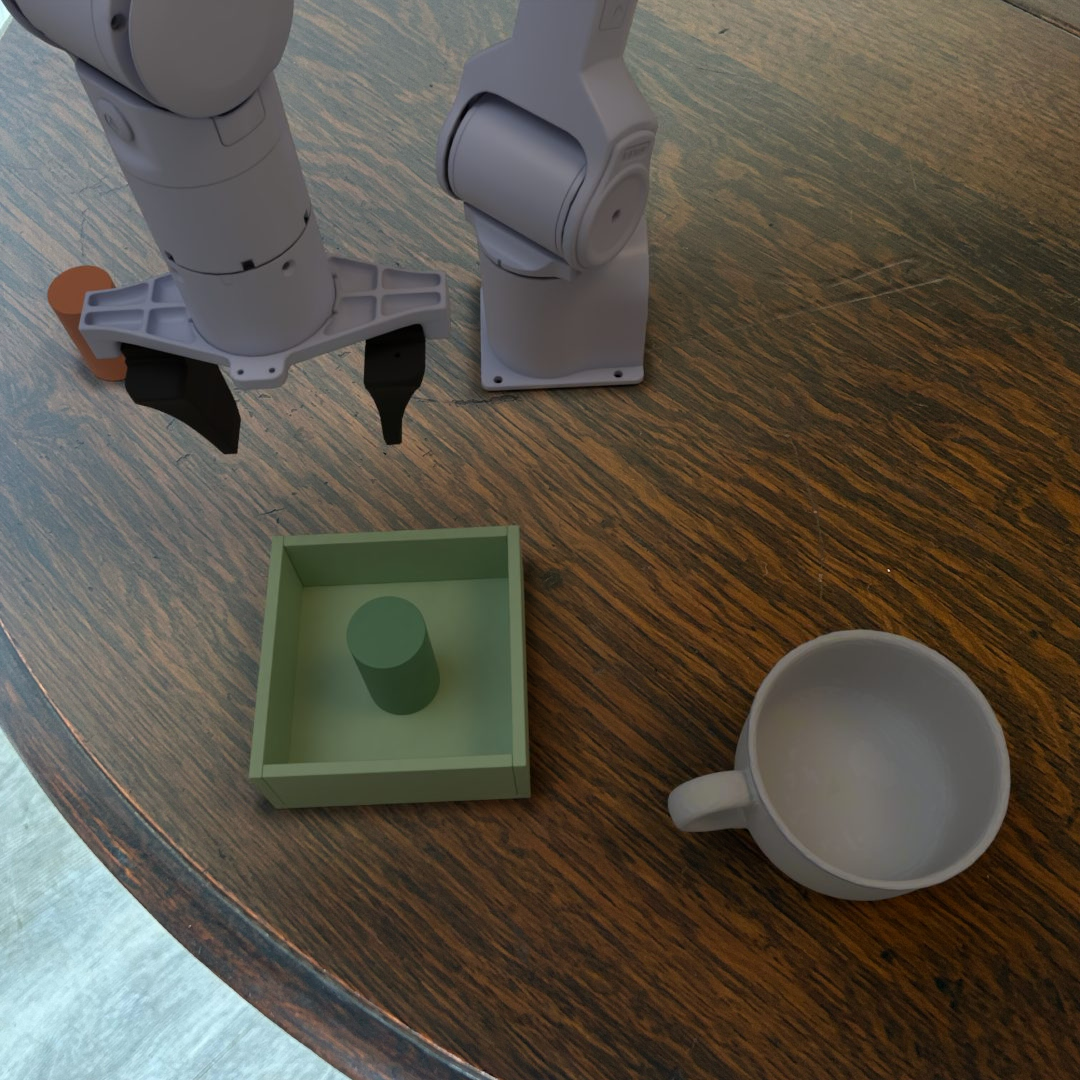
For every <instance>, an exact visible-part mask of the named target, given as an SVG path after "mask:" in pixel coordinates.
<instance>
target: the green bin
mask: <svg viewBox="0 0 1080 1080" xmlns="http://www.w3.org/2000/svg"><path fill="white" fill-rule="evenodd" d="M523 564H524V563H523V552H522V541H521V530H520V525H518V524H513V525H512V524H511V525H494V526H493V525H490V526H472V527H471V526H470V527H467V526H466V527H449V528H448V527H445V528H426V529H425V528H424V529H406V530H404V529H403V530H383V531H382V530H381V531H362V532H361V531H359V532H358V531H357V532H339V533H318V534H317V533H316V534H313V533H312V534H296V535H294V534H293V535H292V534H291V535H273V536H272V537H271V546H270V555H269V566H268V575H267V583H266V596H265V605H264V616H263V626H262V636H261V647H260V655H259V657H260V658H259V665H258V666H259V667H258V677H257V684H256V685H257V686H256V697H255V707H254V716H253V726H252V727H253V728H252V737H251V747H250V755H249V756H250V758H249V767H248V779H249V780H250V781H251V782H252V784H253V785H254V786H255V787H256V788H257V789H258V790H259V791H260V793H261V794H262V795H263V796H264V797H265V799H267V801H268V802H269V803H270V804H271V805H272V806H273V807H274V809H276V810H280V809H281V810H282V809H301V808H302V809H306V808H327V807H328V808H329V807H349V806H350V807H351V806H352V807H353V806H371V805H373V806H374V805H396V804H399V805H400V804H419V803H420V804H421V803H442V802H443V803H444V802H464V801H486V800H487V801H488V800H511V799H530V798H531V797H532V796H531V794H532V793H531V765H530V763H531V761H530V735H529V730H530V729H529V704H528V703H529V702H528V701H529V699H528V673H527V670H528V669H527V640H526V638H527V637H526V609H525V580H524V579H525V578H524V565H523ZM385 596H393V597H399V598H402V599H405V600H407V601H409V602H411V603H412V604H414V605H415V606H416V607H417V608H418V609H419V611H420V612H421V614H422V616H423V618H424V621H425V624H426V628H427V631H428V635H429V638H430V641H431V645H432V648H433V652H434V655H435V659H436V662H437V666H438V669H439V673H440V685H439V689H438V691H437V694H436V696H435V697H434V699H433V700H432V701H431V702H430V703H429V704H428V705H427V706H426V707H425V708H423V709H422V710H420V711H418V712H415V713H412V714H408V715H395V714H391V713H388V712H386V711H384V710H382V709H381V708H380V707H378V706H377V705H376V704H375V702H374V701H373V699H372V697H371V695H370V693H369V691H368V689H367V687H366V685H365V682H364V680H363V678H362V676H361V674H360V671H359V669H358V667H357V665H356V663H355V660H354V658H353V656H352V654H351V652H350V649H349V647H348V644H347V637H346V634H347V627H348V624H349V621H350V620H351V618H352V616H353V615H354V613H355V612H356V611H357V610H358V609H359V608H360V607H361V606H362V605H364V604H365V603H367V602H369V601H370V600H373V599H375V598H379V597H385Z"/></svg>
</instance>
